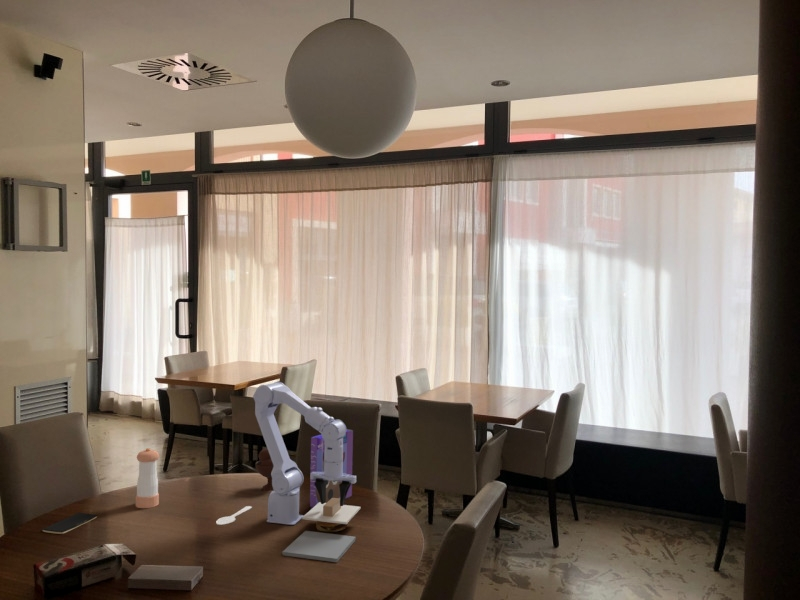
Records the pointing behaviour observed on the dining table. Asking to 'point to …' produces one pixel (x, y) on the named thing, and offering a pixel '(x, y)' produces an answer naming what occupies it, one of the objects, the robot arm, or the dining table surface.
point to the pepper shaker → (147, 479)
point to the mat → (319, 546)
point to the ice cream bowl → (265, 467)
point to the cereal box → (318, 466)
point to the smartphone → (69, 523)
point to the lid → (332, 512)
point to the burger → (329, 526)
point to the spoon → (231, 517)
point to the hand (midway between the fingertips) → (332, 504)
